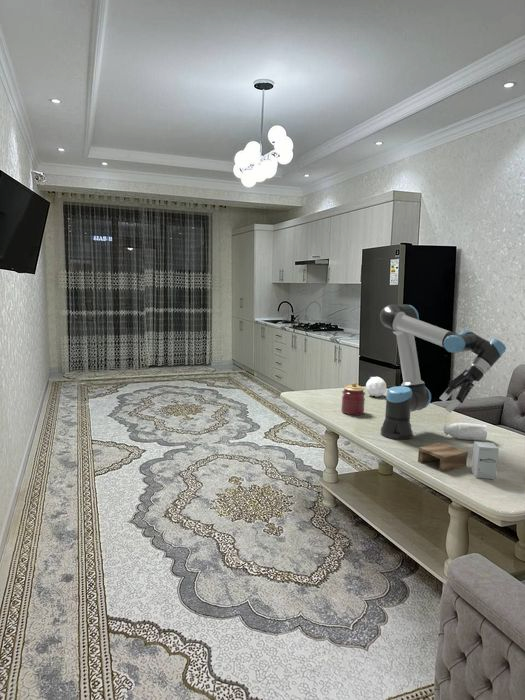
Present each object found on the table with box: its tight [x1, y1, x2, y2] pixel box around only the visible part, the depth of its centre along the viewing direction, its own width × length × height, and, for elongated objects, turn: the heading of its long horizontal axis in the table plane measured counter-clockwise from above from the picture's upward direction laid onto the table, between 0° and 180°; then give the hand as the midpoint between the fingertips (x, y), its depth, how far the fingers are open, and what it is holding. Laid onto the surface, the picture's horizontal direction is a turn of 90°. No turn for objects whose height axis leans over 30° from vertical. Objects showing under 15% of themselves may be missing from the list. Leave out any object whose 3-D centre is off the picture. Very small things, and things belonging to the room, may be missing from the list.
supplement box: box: [470, 440, 500, 480], centre depth 189 cm, size 7×7×13 cm
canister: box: [341, 382, 366, 416], centre depth 278 cm, size 13×13×18 cm
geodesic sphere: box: [365, 375, 387, 398], centre depth 322 cm, size 14×14×14 cm
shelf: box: [417, 442, 469, 473], centre depth 201 cm, size 13×14×6 cm
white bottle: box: [443, 422, 488, 442], centre depth 235 cm, size 8×19×8 cm, turn 76°
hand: (444, 405), depth 213 cm, fingers open, 13 cm apart
